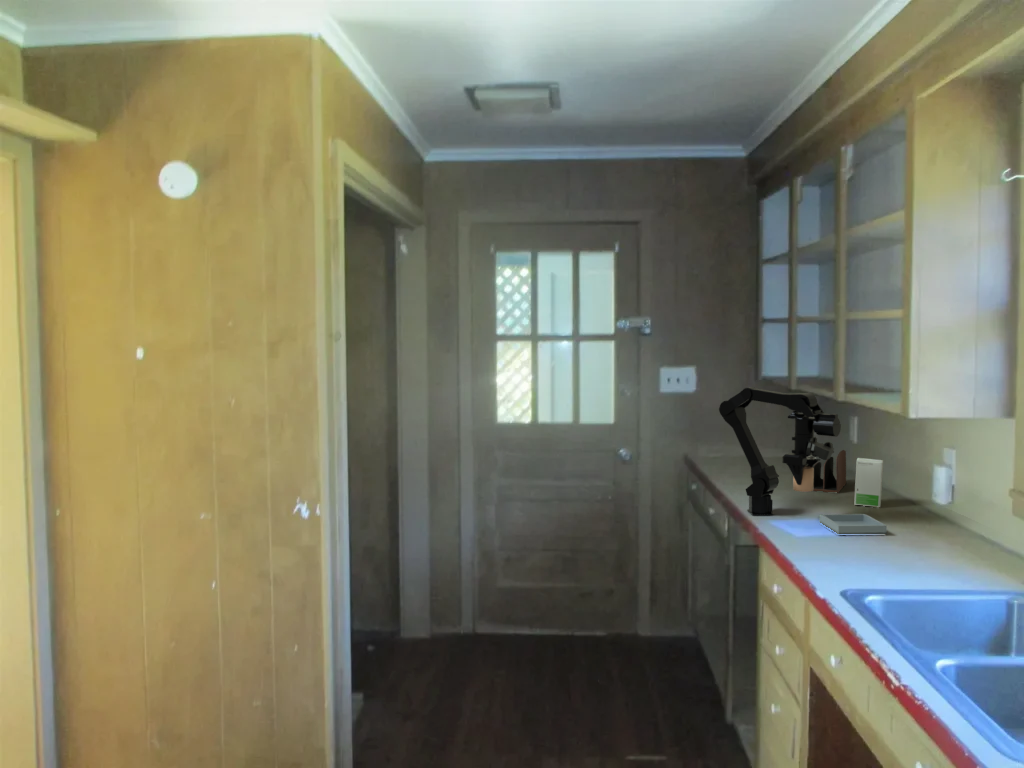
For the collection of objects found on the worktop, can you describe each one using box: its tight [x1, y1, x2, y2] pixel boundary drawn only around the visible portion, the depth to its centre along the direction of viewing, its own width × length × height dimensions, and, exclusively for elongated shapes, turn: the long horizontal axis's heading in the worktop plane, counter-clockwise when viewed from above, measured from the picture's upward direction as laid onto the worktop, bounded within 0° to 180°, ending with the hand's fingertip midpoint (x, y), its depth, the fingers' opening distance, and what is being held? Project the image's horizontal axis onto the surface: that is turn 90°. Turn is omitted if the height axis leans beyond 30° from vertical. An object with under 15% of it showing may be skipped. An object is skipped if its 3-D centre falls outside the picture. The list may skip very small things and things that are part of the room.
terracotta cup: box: [792, 466, 814, 493], centre depth 245 cm, size 6×6×7 cm
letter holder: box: [812, 449, 847, 494], centre depth 295 cm, size 10×20×14 cm, turn 149°
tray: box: [818, 513, 888, 535], centre depth 235 cm, size 14×14×3 cm
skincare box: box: [853, 457, 884, 508], centre depth 265 cm, size 8×7×16 cm
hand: (803, 483), depth 245 cm, fingers closed on terracotta cup, 6 cm apart
